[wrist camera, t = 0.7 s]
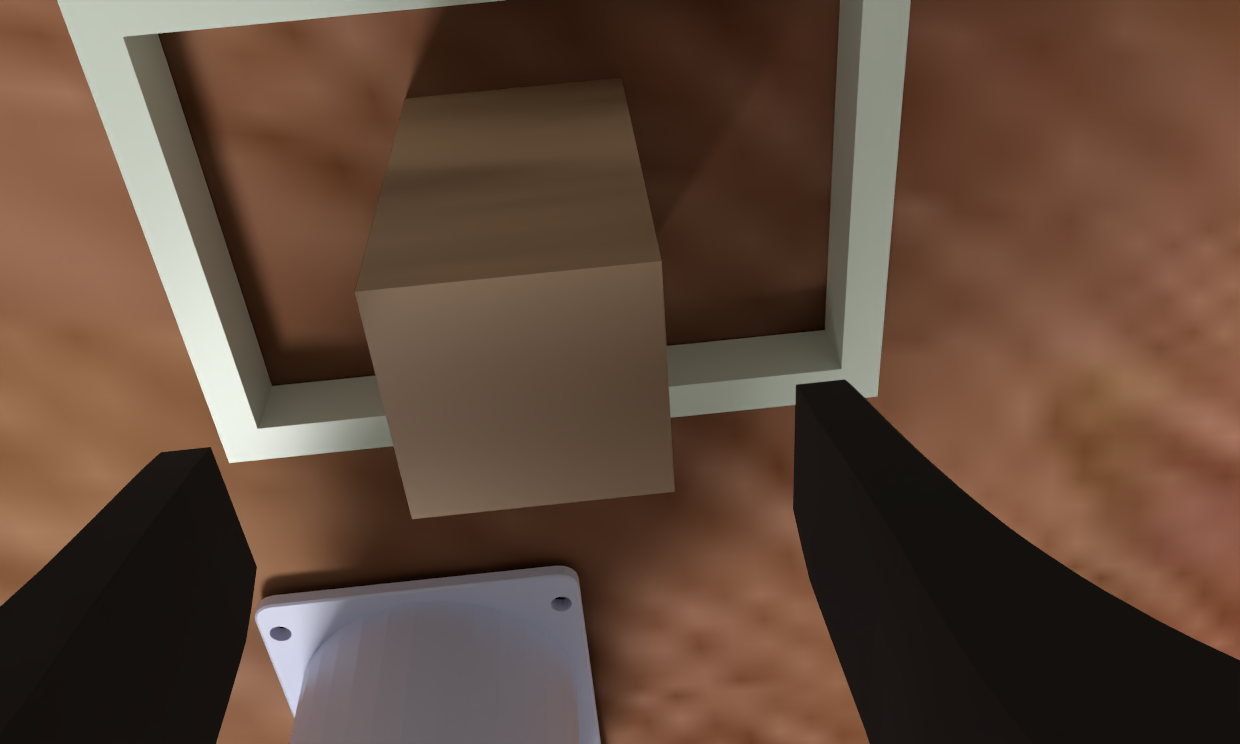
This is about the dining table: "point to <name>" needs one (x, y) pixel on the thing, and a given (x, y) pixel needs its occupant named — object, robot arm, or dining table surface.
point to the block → (518, 302)
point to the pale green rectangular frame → (352, 408)
